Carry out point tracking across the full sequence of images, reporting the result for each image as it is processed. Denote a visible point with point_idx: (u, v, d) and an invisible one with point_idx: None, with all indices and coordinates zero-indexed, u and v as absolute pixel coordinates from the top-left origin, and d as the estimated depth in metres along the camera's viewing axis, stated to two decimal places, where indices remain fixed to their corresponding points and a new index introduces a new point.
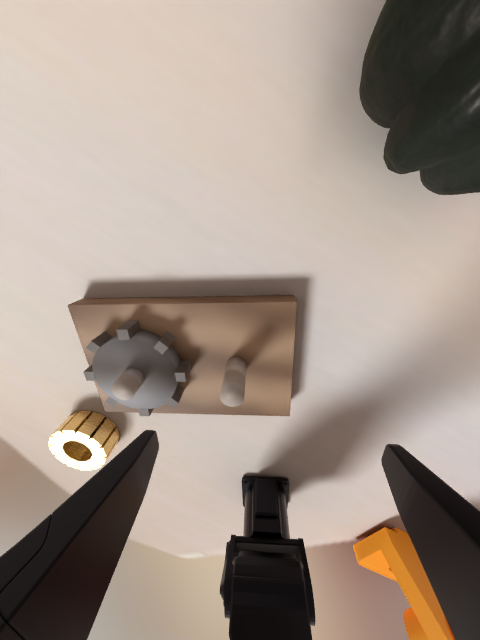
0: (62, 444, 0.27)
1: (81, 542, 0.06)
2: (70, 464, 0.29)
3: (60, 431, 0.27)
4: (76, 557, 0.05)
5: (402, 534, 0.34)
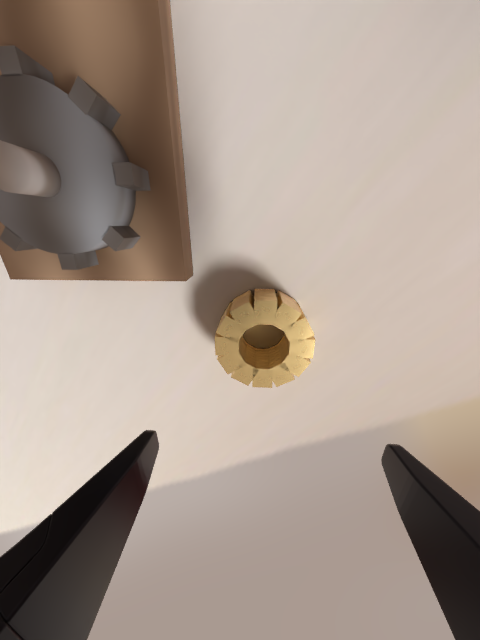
0: (248, 365, 0.17)
1: (81, 542, 0.06)
2: (297, 369, 0.17)
3: (219, 358, 0.17)
4: (76, 557, 0.05)
5: None
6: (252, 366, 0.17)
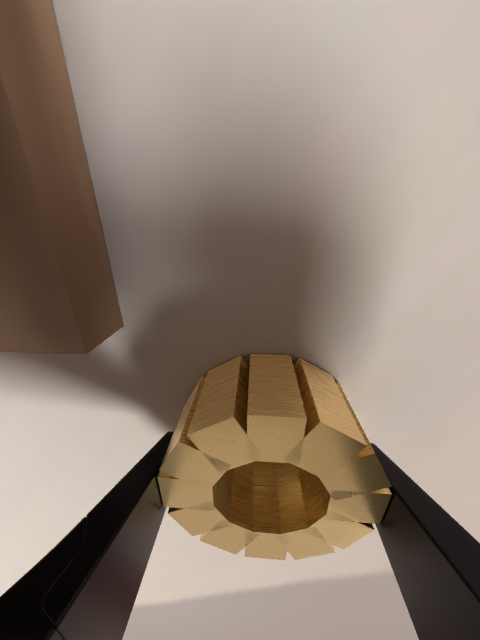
0: (235, 525, 0.08)
1: (117, 545, 0.05)
2: (341, 539, 0.08)
3: (173, 511, 0.08)
4: (113, 561, 0.05)
5: None
6: (244, 527, 0.08)
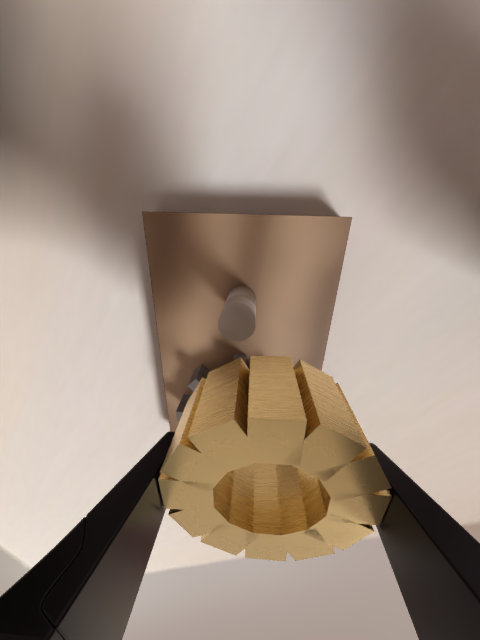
0: (236, 527, 0.08)
1: (117, 545, 0.05)
2: (341, 540, 0.08)
3: (174, 512, 0.08)
4: (113, 560, 0.05)
5: None
6: (244, 528, 0.08)
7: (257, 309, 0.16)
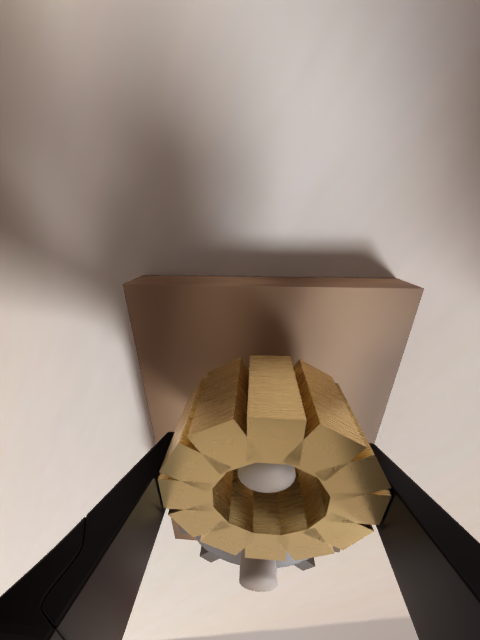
0: (235, 527, 0.08)
1: (117, 545, 0.05)
2: (341, 540, 0.08)
3: (173, 512, 0.08)
4: (113, 560, 0.05)
5: None
6: (244, 528, 0.08)
7: None
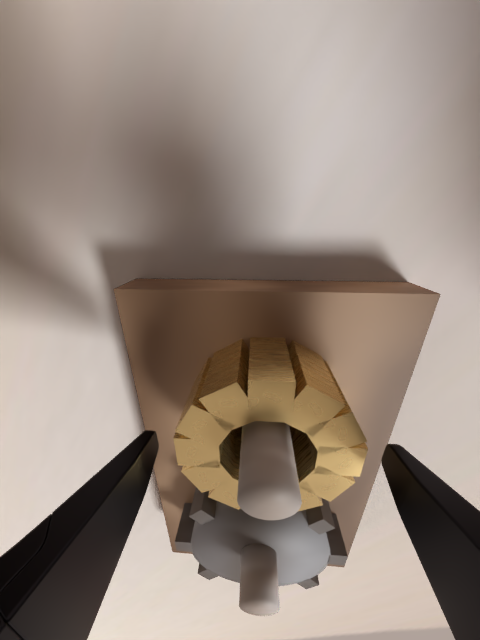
0: None
1: (81, 542, 0.06)
2: (328, 492, 0.09)
3: (186, 469, 0.09)
4: (76, 557, 0.05)
5: None
6: None
7: None
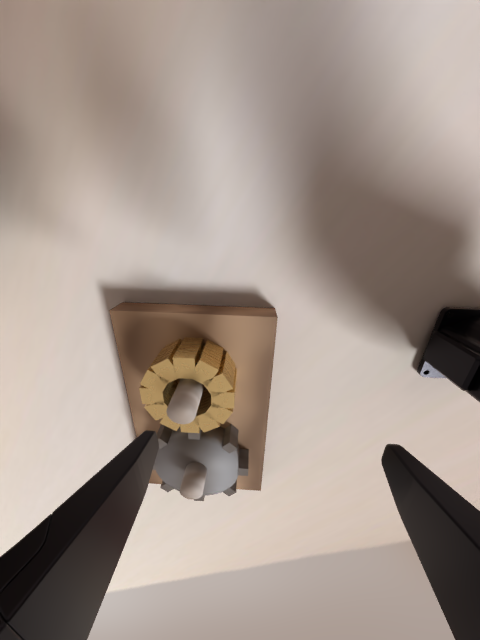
0: None
1: (81, 542, 0.06)
2: (221, 418, 0.17)
3: (146, 406, 0.17)
4: (76, 557, 0.05)
5: None
6: None
7: None
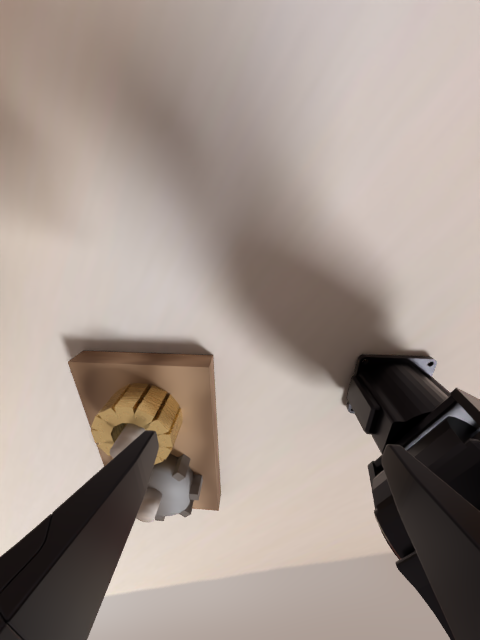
0: None
1: (81, 542, 0.06)
2: (162, 454, 0.20)
3: (99, 444, 0.20)
4: (76, 557, 0.05)
5: None
6: None
7: None
